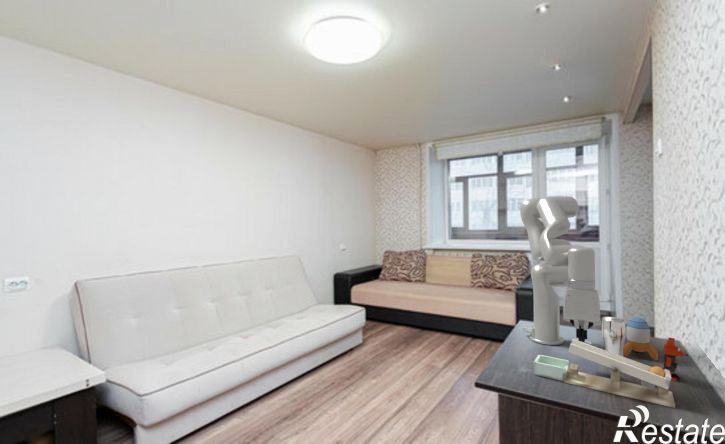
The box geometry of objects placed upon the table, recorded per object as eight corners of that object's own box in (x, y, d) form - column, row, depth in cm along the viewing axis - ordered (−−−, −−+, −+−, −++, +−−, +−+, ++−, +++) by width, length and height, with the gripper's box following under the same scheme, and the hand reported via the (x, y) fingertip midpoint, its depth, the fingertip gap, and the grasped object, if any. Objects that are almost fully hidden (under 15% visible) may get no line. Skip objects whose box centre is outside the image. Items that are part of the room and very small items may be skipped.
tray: (533, 374, 116) (533, 362, 116) (538, 366, 122) (538, 354, 122) (565, 381, 110) (565, 368, 110) (568, 372, 117) (568, 360, 117)
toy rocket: (626, 351, 137) (637, 314, 136) (660, 365, 128) (672, 325, 127) (615, 353, 132) (625, 314, 130) (649, 368, 123) (661, 326, 122)
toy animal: (686, 386, 107) (686, 346, 107) (662, 380, 111) (662, 341, 111) (688, 377, 112) (688, 339, 112) (666, 372, 116) (666, 335, 116)
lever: (566, 357, 111) (571, 341, 110) (572, 343, 122) (576, 329, 122) (666, 395, 97) (671, 378, 96) (661, 376, 109) (666, 360, 108)
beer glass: (630, 366, 121) (630, 322, 121) (607, 365, 122) (607, 321, 122) (619, 358, 128) (619, 316, 128) (598, 357, 129) (598, 316, 129)
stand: (563, 382, 110) (563, 357, 110) (567, 371, 118) (567, 348, 118) (675, 408, 94) (675, 380, 94) (671, 393, 102) (671, 367, 102)
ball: (649, 377, 100) (651, 366, 100) (649, 373, 103) (651, 362, 102) (664, 382, 98) (666, 371, 98) (663, 378, 101) (665, 367, 100)
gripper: (554, 284, 119) (554, 339, 119) (608, 289, 110) (608, 348, 110) (557, 281, 125) (557, 333, 125) (609, 285, 116) (609, 342, 116)
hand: (581, 340), depth 118 cm, fingers closed
